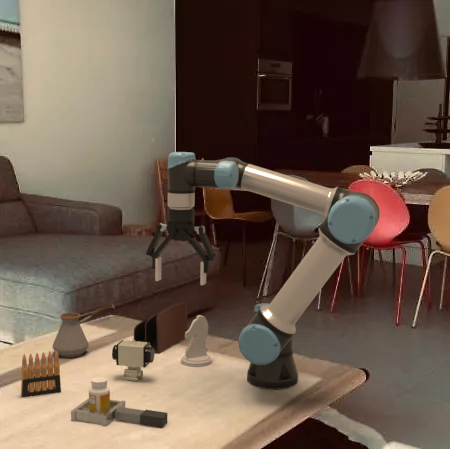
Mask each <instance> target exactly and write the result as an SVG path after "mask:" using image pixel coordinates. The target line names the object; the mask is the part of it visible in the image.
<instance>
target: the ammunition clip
mask: <svg viewBox="0 0 450 449" xmlns="http://www.w3.org/2000/svg"><path fill="white" fill-rule="evenodd" d="M27 361H28V364H27ZM40 362H41V364H40ZM60 367H61V366H60V358H59V354H58V352H57V351H56V352H55V351H54V361H53V354H52V352H51V351H49V352H48V356H47V359H46V354H45V352H44V351H43V352H42V353H41V361H40V356H39V353H38V352H36V354H35V358H33V355H32V353H30V354H29V356H28V360H27V356H26V354H25V353H24V354H23V355H22V362H21V387H20V388H21V389H20V392H21V393H20V395H21V397H22V398H23V397H24V398H29V397H30V396H31V397H38V396H44V395H51V394H52V395H53V394H59V393H62V386H61V374H60V373H61V372H60V369H61V368H60ZM31 397H30V398H31Z"/></svg>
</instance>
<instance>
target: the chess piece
mask: <svg viewBox="0 0 450 449" xmlns="http://www.w3.org/2000/svg"><path fill="white" fill-rule="evenodd" d="M208 334H209V322H208V320H207V318H206V317H205V316H203V315H201V314H199V315H196V317H195V319H193V320H192V322H191V324H190V326H189V328H188V329H187V332H185V340H187V341H190V342H189V343H188V345H187V347H186V348H185V352H184V354H183V356H182V357H181V358H180V364H182V365H184V366H187V367H193V368H195V367H196V368H200V367H201V368H202V367H207V366H210V365H211V364H212V363H213V361H212V357H211V356H210V355H209V354H207V353H208V352H209V350H208V348H207V346H206V345H207V344H206V341H207V338H208Z"/></svg>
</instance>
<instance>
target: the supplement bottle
mask: <svg viewBox="0 0 450 449" xmlns="http://www.w3.org/2000/svg"><path fill="white" fill-rule="evenodd" d="M110 393H111V390H110V388H109V386H108V379H107V378H106V377H103V376H97V377H93V378H92V379H91V386H90V387H89V388H88V398H89V410H88V411H90V412H97V413H103V414H106V413H107V412H108V411H110V400H111V394H110Z"/></svg>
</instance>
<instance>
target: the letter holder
mask: <svg viewBox="0 0 450 449" xmlns="http://www.w3.org/2000/svg"><path fill="white" fill-rule="evenodd" d="M187 331H188V304H187V303H186V302H185V301H184V302H178V303H174V304H173V305H170V306H167V307H166V308H164V309H163V310H161V311H160V312H158V313H156V314H154V315H153V316H150V317H148V318H146V319H144V320H143V321H140V322H138V324H137V325H135V326H134V328H133V340H135V341H137V342H138V341H140V342H150V346H151V348H154V352H155V354H161V353H162V352H164V351H166V350H168V349H171V348H172V347H174V346H176V345H178V344H180V343H181V342H180V341H182V340H183V341H185V340H186V339H185V332H187ZM184 339H185V340H184ZM183 341H182V342H183ZM179 342H180V343H179ZM177 343H178V344H177ZM175 344H176V345H175ZM173 345H174V346H173ZM171 346H172V347H171Z"/></svg>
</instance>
